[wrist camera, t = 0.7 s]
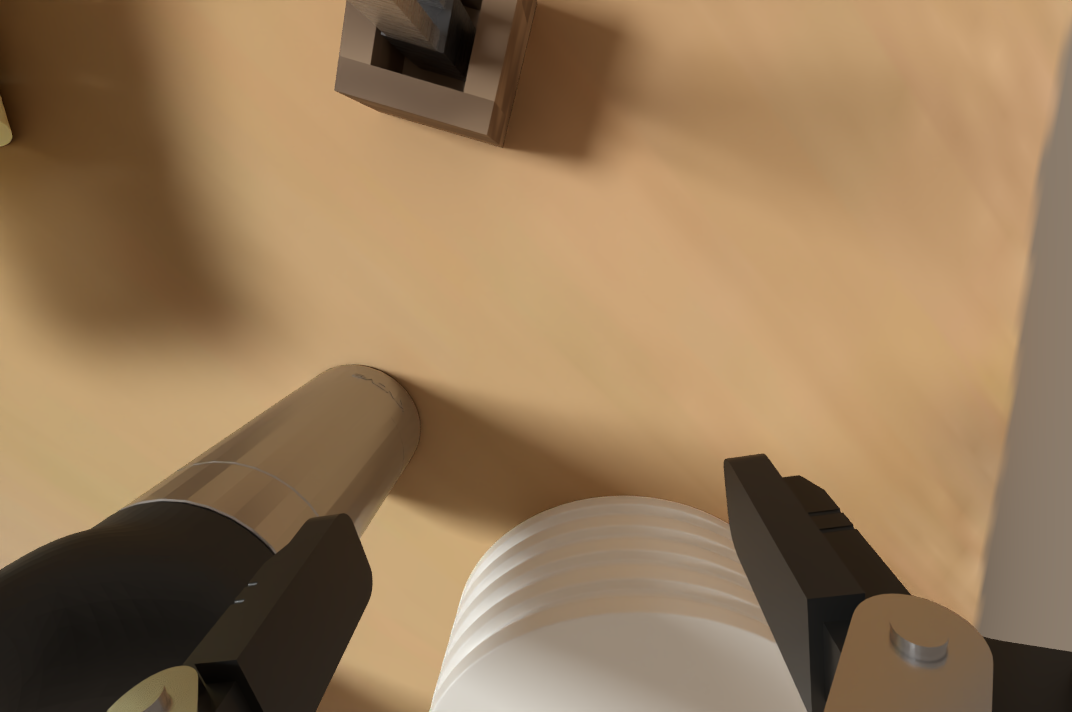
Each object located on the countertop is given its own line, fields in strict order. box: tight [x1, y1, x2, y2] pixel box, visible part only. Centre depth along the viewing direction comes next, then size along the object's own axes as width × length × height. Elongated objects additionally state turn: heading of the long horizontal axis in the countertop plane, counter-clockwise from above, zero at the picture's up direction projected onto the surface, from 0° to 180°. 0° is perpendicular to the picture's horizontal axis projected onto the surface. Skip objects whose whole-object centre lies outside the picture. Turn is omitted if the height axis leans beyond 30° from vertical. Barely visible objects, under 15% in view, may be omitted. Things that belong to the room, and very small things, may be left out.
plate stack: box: [429, 496, 807, 712], centre depth 36 cm, size 28×28×12 cm
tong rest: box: [334, 0, 537, 148], centre depth 27 cm, size 8×8×6 cm
